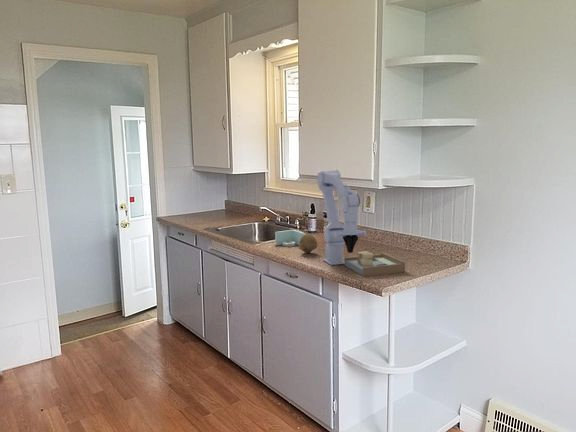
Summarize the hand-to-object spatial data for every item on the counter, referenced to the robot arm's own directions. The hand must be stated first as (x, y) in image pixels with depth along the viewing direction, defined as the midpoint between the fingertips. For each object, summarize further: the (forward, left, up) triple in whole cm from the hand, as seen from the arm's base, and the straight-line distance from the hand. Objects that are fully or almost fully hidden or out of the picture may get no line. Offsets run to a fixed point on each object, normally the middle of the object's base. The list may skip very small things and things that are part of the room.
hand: (350, 252), depth 206 cm
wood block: (0, +8, -6) cm, 10 cm away
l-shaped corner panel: (-56, -8, -9) cm, 58 cm away
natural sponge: (-37, -5, -9) cm, 38 cm away
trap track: (0, +12, -8) cm, 15 cm away
